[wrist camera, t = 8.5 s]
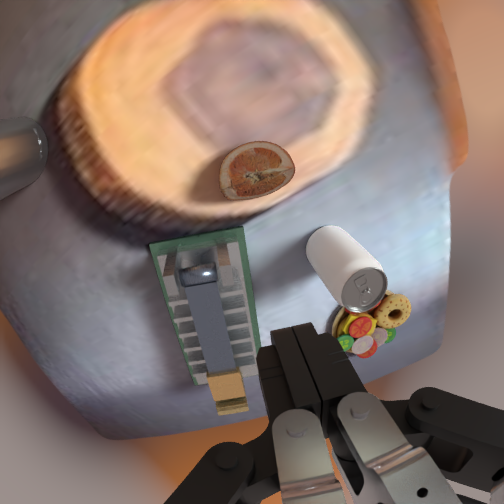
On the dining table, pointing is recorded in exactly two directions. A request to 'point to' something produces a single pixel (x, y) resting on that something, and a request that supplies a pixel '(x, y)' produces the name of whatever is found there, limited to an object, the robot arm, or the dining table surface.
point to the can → (346, 269)
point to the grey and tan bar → (212, 330)
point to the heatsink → (231, 292)
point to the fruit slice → (255, 170)
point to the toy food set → (371, 325)
